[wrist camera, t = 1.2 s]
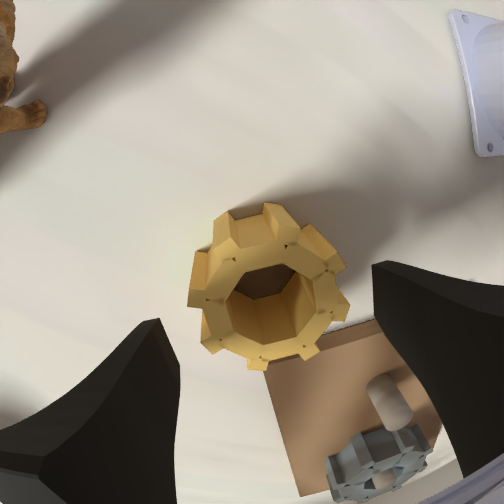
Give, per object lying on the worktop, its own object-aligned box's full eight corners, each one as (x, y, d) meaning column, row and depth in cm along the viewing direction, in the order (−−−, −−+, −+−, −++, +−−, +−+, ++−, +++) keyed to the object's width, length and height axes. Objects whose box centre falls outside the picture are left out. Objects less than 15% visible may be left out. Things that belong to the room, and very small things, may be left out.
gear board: (458, 288, 16) (502, 324, 12) (427, 440, 22) (446, 473, 18) (258, 351, 16) (270, 412, 12) (297, 486, 22) (307, 525, 18)
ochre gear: (310, 191, 13) (339, 210, 10) (327, 304, 15) (353, 346, 12) (180, 222, 13) (168, 252, 10) (215, 332, 15) (215, 381, 12)
